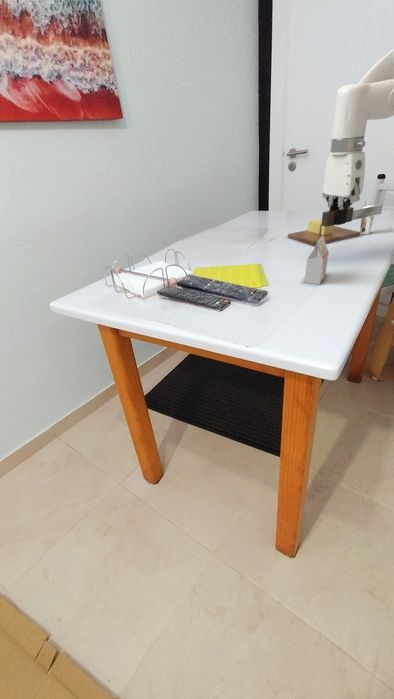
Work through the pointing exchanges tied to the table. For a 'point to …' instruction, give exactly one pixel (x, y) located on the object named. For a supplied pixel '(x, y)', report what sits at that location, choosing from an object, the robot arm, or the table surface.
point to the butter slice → (327, 230)
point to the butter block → (315, 226)
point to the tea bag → (317, 263)
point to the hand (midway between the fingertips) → (336, 222)
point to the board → (314, 237)
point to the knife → (350, 214)
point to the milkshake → (366, 222)
